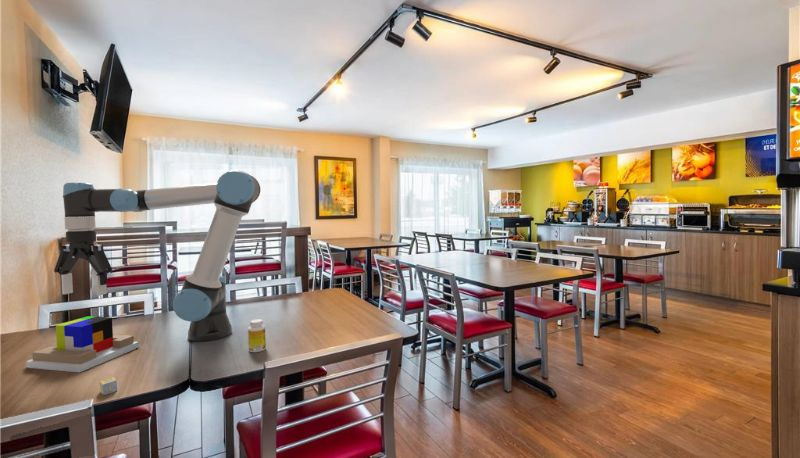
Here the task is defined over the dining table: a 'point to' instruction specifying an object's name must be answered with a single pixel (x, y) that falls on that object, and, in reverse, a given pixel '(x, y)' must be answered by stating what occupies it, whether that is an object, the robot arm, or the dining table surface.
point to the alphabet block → (108, 386)
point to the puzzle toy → (85, 334)
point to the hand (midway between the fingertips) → (84, 294)
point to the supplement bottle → (256, 336)
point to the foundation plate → (85, 365)
